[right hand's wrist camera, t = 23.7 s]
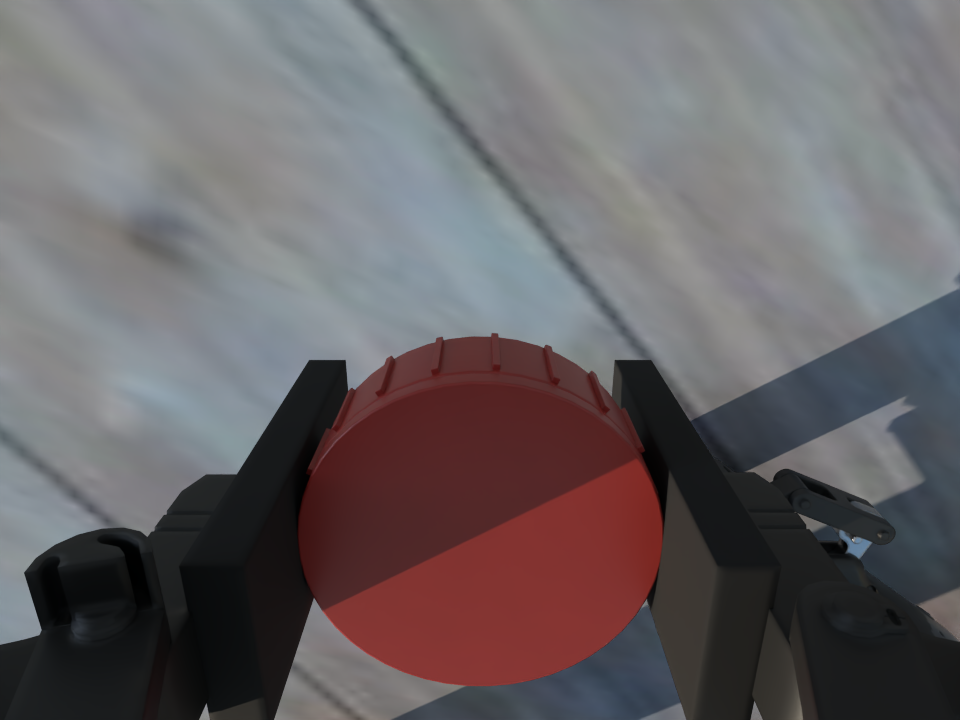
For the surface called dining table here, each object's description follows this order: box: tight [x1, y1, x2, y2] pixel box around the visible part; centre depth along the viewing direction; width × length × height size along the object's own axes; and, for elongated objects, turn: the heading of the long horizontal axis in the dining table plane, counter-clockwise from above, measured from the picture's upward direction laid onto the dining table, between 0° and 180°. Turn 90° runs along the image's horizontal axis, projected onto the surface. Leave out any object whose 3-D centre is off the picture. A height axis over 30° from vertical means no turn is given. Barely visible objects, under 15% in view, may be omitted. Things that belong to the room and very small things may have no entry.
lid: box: [297, 333, 664, 686], centre depth 11 cm, size 6×6×2 cm
